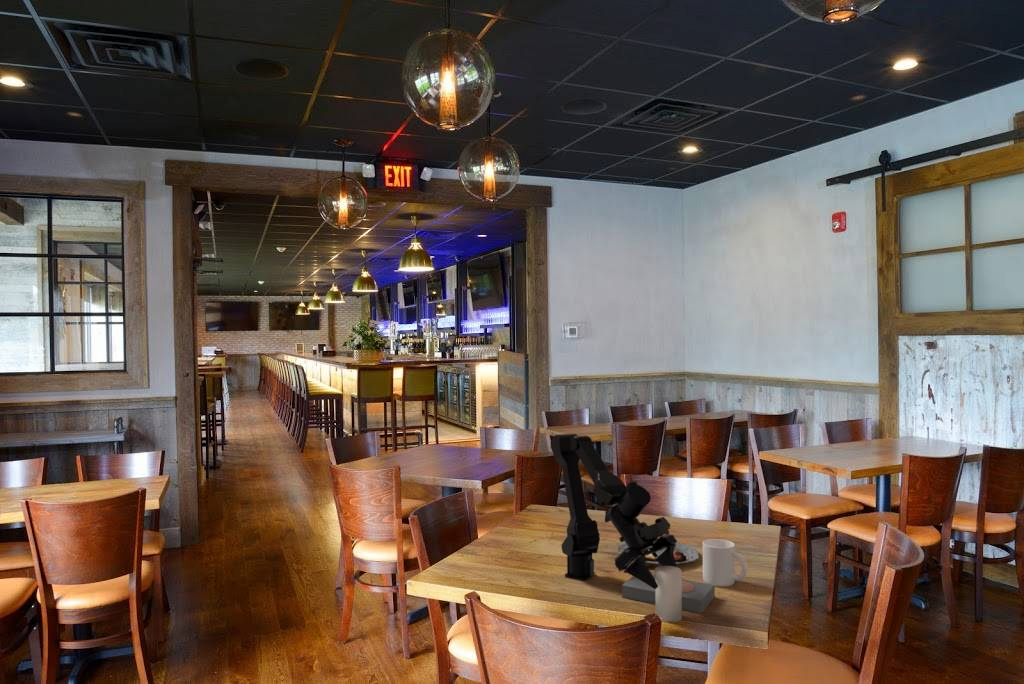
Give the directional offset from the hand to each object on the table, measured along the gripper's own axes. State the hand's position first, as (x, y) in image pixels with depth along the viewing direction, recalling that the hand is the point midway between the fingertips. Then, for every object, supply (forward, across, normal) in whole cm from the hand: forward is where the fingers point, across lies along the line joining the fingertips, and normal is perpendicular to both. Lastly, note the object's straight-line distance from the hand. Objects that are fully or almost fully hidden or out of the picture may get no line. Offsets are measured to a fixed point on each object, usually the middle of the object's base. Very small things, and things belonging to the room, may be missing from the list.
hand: (668, 583), depth 158 cm
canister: (+6, 0, +6) cm, 8 cm away
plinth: (+1, +11, +10) cm, 15 cm away
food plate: (-14, +36, +25) cm, 46 cm away
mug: (+4, +30, +7) cm, 31 cm away
